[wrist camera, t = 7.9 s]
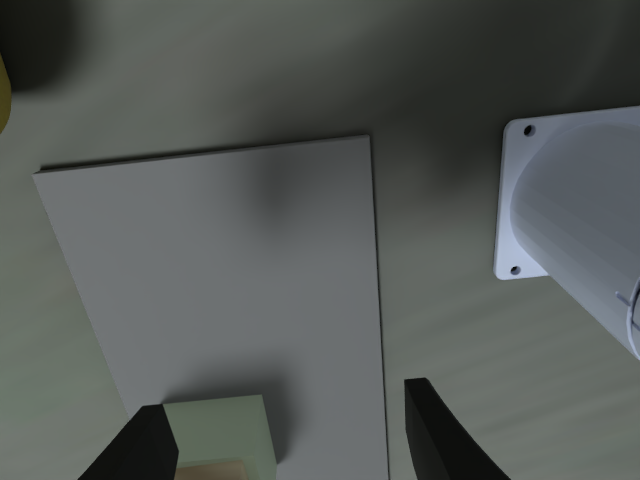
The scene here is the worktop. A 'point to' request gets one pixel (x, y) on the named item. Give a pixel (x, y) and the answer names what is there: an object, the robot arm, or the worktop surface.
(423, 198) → the worktop surface
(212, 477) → the birch block
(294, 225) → the play mat
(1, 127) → the flower pot
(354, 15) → the worktop surface
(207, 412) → the sage brick
